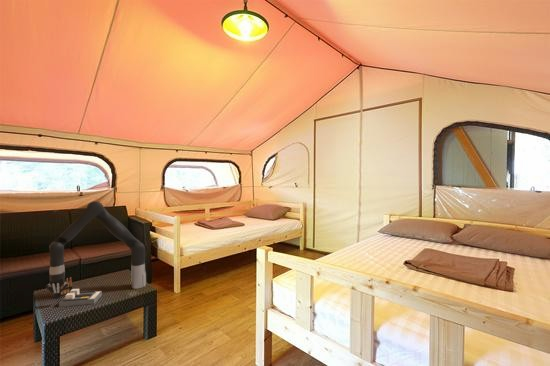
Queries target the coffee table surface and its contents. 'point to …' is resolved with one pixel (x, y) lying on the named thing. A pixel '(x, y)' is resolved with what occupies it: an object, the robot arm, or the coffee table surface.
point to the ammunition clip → (67, 289)
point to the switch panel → (82, 298)
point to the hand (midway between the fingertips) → (57, 298)
